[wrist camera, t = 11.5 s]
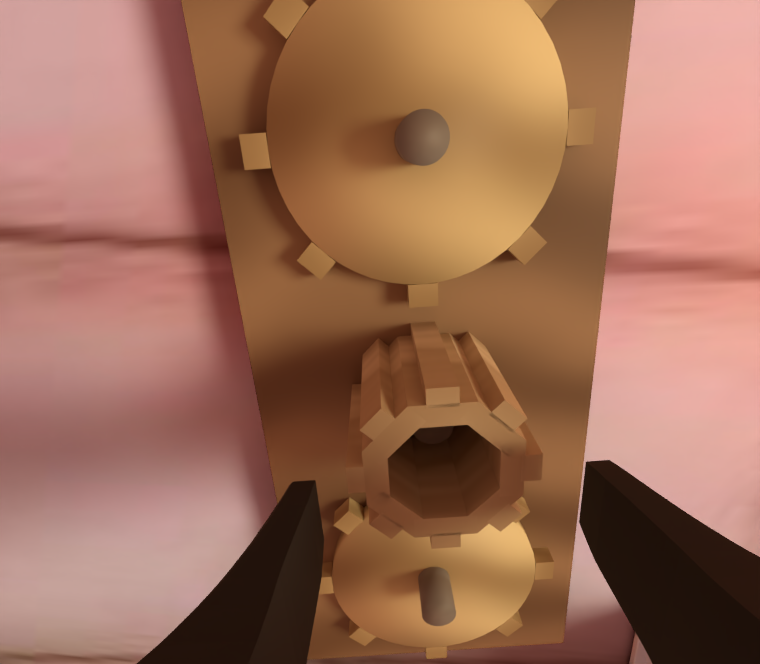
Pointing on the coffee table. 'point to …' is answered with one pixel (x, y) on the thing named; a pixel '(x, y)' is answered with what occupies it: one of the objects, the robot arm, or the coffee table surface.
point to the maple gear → (442, 460)
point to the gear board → (419, 266)
